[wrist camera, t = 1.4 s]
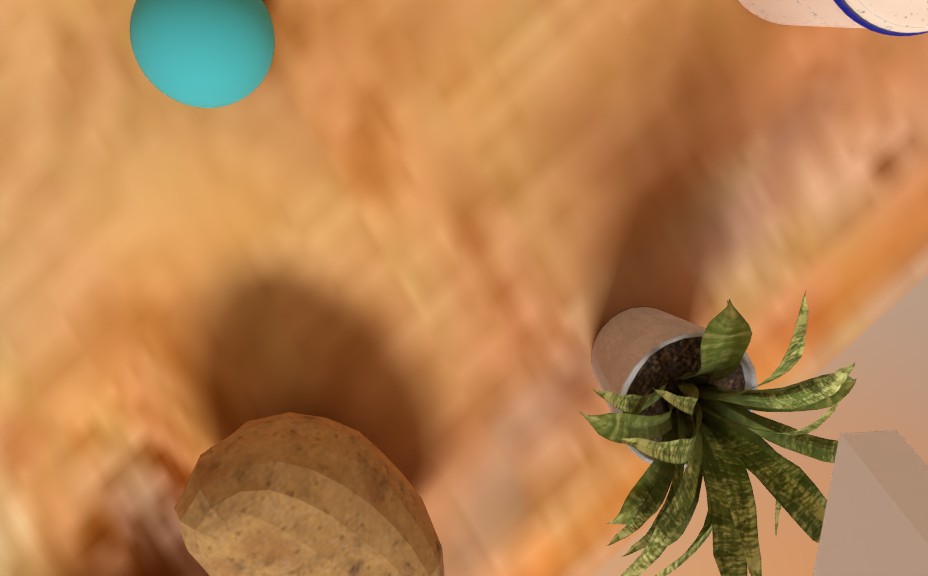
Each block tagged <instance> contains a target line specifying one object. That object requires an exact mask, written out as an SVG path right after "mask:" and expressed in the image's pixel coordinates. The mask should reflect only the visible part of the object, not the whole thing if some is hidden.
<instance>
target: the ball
mask: <svg viewBox="0 0 928 576" xmlns="http://www.w3.org/2000/svg"><path fill="white" fill-rule="evenodd" d="M130 39H131V44H132V49H133V52H134V55H135V58H136V60H137V62H138V64H139V66H140V68H141V69H142V71H143V73H144V74H145V76H146V77H147V78H148V79H149V80H150V82H151V83H152V84H153V85H154V86H155V87H157V88H158V89H159V90H160V91H161V92H163V93H164V94H165V95H167V96H169V97H170V98H172V99H174V100H176V101H178V102H181V103H183V104H187V105H190V106H194V107H201V108H214V107H222V106H226V105H230V104H232V103H235V102H237V101H239V100H241V99H243V98H244V97H246V96H247V95H249V94H250V93H251V92H253V91H254V90H255V89H256V88H257V87H258V86H259V84H260V83H261V82H262V80H263V79H264V78H265V76H266V74H267V72H268V70H269V68H270V65H271V63H272V59H273V55H274V47H275V36H274V29H273V24H272V21H271V17H270V15H269V12H268V10H267V8H266V6H265V4H264V2H263V1H262V0H136V2H135V5H134V8H133V11H132V15H131V20H130Z"/></svg>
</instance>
